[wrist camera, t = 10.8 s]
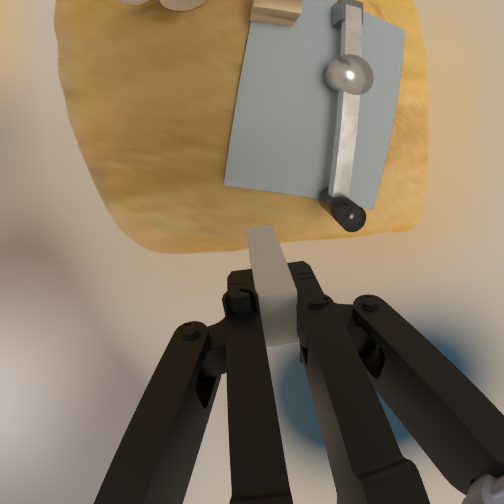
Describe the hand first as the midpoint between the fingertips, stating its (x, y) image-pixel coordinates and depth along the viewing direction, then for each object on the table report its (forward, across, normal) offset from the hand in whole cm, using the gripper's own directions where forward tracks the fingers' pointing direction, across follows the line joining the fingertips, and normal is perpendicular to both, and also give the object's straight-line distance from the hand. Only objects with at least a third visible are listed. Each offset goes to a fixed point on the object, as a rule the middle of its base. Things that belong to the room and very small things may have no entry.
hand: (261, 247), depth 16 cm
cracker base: (+17, +10, +10) cm, 22 cm away
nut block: (+16, +5, +20) cm, 26 cm away
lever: (+15, +11, +9) cm, 21 cm away
